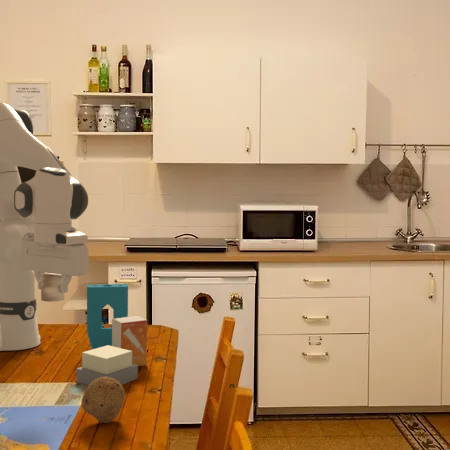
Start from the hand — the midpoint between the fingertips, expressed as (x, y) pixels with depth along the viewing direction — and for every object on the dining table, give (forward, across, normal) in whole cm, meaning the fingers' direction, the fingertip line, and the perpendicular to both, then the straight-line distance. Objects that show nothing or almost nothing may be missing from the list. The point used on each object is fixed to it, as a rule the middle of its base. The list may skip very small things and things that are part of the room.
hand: (52, 290), depth 156 cm
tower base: (+25, +7, +12) cm, 29 cm away
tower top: (+21, +7, +12) cm, 25 cm away
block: (+25, -11, +33) cm, 43 cm away
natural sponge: (+24, +25, -10) cm, 37 cm away
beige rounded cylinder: (+2, 0, 0) cm, 2 cm away
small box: (+25, +3, +26) cm, 36 cm away
